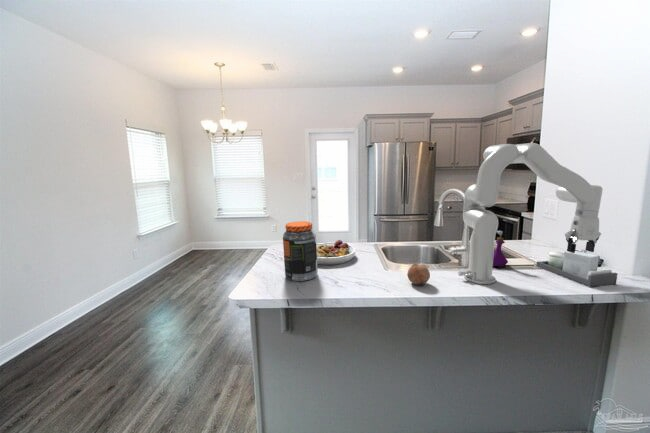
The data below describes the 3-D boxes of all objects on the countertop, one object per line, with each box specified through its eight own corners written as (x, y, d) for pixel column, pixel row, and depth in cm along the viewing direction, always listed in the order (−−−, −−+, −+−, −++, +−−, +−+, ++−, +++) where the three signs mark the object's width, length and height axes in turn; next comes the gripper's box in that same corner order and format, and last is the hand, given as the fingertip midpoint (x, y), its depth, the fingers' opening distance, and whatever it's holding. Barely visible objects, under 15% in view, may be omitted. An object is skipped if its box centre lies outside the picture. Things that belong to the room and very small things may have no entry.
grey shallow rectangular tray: (589, 287, 123) (591, 275, 122) (536, 266, 149) (537, 256, 148) (615, 284, 125) (617, 273, 124) (558, 264, 151) (560, 254, 150)
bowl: (340, 270, 151) (340, 255, 150) (292, 262, 166) (291, 248, 164) (363, 254, 176) (363, 241, 175) (320, 248, 191) (319, 236, 190)
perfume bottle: (507, 268, 147) (511, 232, 144) (491, 267, 148) (494, 232, 145) (502, 263, 154) (505, 229, 151) (486, 262, 156) (489, 229, 152)
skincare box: (596, 278, 131) (599, 255, 129) (588, 280, 128) (592, 257, 126) (569, 270, 140) (571, 249, 138) (561, 273, 138) (563, 251, 136)
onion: (410, 287, 135) (404, 266, 137) (431, 282, 133) (424, 260, 135) (412, 288, 125) (405, 265, 128) (434, 283, 124) (426, 260, 126)
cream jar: (556, 270, 141) (558, 255, 140) (544, 265, 148) (545, 251, 147) (568, 269, 142) (570, 254, 141) (555, 264, 149) (557, 250, 148)
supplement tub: (321, 271, 149) (320, 220, 144) (311, 283, 134) (309, 227, 130) (292, 269, 154) (290, 219, 149) (279, 280, 139) (276, 226, 134)
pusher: (589, 283, 125) (590, 272, 124) (586, 282, 126) (588, 271, 125) (610, 281, 126) (611, 270, 125) (607, 280, 127) (609, 269, 126)
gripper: (578, 215, 124) (571, 255, 127) (612, 214, 127) (605, 253, 130) (561, 212, 131) (555, 249, 134) (594, 212, 134) (588, 248, 137)
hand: (580, 251), depth 132 cm, fingers open, 9 cm apart
